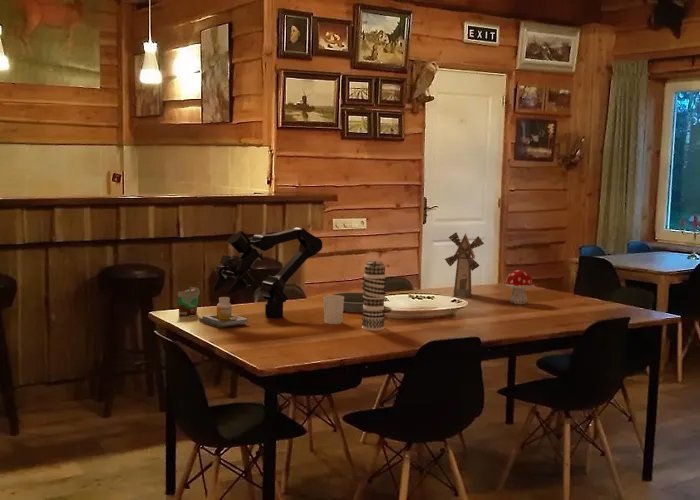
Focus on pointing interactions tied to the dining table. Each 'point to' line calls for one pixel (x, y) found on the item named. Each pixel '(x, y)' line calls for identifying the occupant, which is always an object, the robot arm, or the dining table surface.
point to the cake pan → (353, 301)
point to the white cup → (333, 309)
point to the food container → (188, 301)
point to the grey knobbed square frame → (223, 321)
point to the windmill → (463, 264)
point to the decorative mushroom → (518, 286)
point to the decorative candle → (373, 295)
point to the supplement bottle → (223, 308)
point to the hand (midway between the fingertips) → (220, 292)
